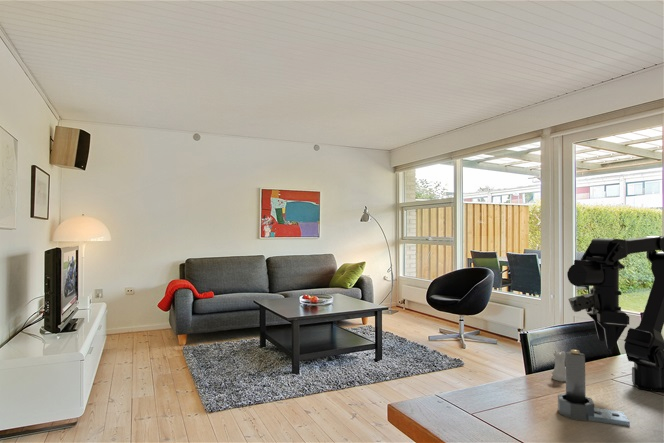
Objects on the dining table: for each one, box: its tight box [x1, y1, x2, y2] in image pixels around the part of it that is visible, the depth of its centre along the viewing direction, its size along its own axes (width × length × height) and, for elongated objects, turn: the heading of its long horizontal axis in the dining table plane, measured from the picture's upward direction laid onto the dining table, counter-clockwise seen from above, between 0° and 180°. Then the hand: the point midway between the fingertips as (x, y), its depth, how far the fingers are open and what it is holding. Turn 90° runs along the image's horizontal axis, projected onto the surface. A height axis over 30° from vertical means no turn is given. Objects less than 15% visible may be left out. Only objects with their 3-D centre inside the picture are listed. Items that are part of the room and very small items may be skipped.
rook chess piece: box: [551, 350, 566, 383], centre depth 123 cm, size 4×4×8 cm
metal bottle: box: [565, 349, 587, 404], centre depth 99 cm, size 4×4×14 cm
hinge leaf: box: [557, 392, 630, 427], centre depth 98 cm, size 14×7×4 cm, turn 68°
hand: (605, 344), depth 111 cm, fingers open, 9 cm apart
